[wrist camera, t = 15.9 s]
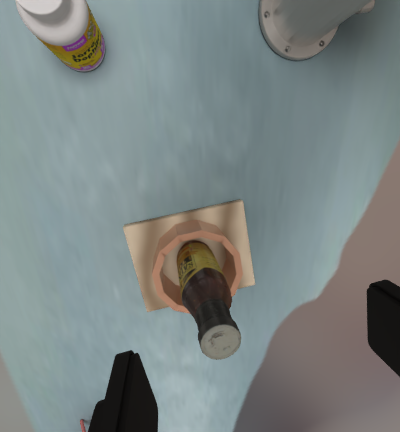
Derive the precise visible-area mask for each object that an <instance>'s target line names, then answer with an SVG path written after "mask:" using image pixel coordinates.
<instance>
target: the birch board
mask: <svg viewBox="0 0 400 432" xmlns="http://www.w3.org/2000/svg"><path fill="white" fill-rule="evenodd" d="M192 220H200V221H203V222H206V223H210V224H213V225H216V226H217V227H218V228H219V229H220V230H221V231H222V232H223V234H224V235H225V236H226V237H227V238H228V239H229V240H230V242H231V243H232V244H233V245H234V247H235V248H236V249H237V250H238V252H239V253H240V258H241V265H242V271H243V275H242V278H241V280H240V283H239V285H238V288H237V289H240V288H243V287H247V286H251V285H255V281H254V274H253V267H252V260H251V253H250V246H249V239H248V232H247V225H246V219H245V212H244V205H243V201H242V200H240V199H239V200H235V201H230V202H226V203H221V204H217V205H212V206H208V207H203V208H199V209H194V210H189V211H185V212H180V213H176V214H171V215H167V216H162V217H158V218H153V219H149V220H144V221H140V222H135V223H130V224H126V225H124V227H123V229H124V232H125V236H126V239H127V243H128V246H129V250H130V253H131V257H132V260H133V264H134V267H135V271H136V274H137V278H138V281H139V285H140V288H141V292H142V295H143V299H144V302H145V306H146V309H147V312H150V311H154V310H158V309H162V308H166V307H169V305H167V304H166V303H165V302H164V301H163V300H162V299H161V298H160V297H159V296H158V295H157V291H156V288H155V284H154V280H153V277H152V268H153V257H154V254H155V251H156V248H157V245H158V242H159V239H160V238H161V237H162V236H163V235H164V234H165V233H166V232H167V231H169V230H170V229H171V228H172V227H173V226H174V225H175V224H179V223H183V222H188V221H192ZM193 240H197V241H201V242H203V243H205V244H207V245H208V246H209V248H210V249H211V250H212V252H213V254H214V256H215V258H216V260H217V262H218V264H219V266H220V268H221V270H222V269H223V266H224V264H225V261H226V252H225V246H224V245H223V244H222V243H221V242H217V241H214V240H210V239H207V238H203V237H200V238H196V239H191V240H187V241H183V242H180V243H179V244H178V245H177V246H176V247H175V248H174V249H173V250H171V251H170V252H169V253H168V254H167V255H166V256H165V259H164V262H163V265H162V269H163V273H164V274H165V275H166V276H167V277H168V278H169V279H170V280H171V281H172V282H173V283H174V284H175V285H179V277H178V270H177V255H178V251H179V250H180V248H181V247H182V246H183V245H184V244H185V243H187V242H189V241H193ZM179 286H180V285H179Z"/></svg>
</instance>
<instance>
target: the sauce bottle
mask: <svg viewBox="0 0 400 432" xmlns="http://www.w3.org/2000/svg"><path fill="white" fill-rule="evenodd" d="M177 270H178V277H179V285H180V292H181V299H182V303H183V305H184V307H185V308H186V309H187V310H188V311H189V312H190V314H191V315H192V316H193V317H194V319H195V321H196V323H197V325H198V330H199V333H198V340H199V344H200V347H201V350H202V352H203V353H204V354H205V355H206V356H208V357H209V358H211V359H216V360H217V359H224V358H227V357H229V356H231V355H233V354H234V353H235V352H236V351H237V349H238V348H239V346H240V343H241V334H240V332H239V329H238V327H237V325H236V323H235V322H234V321H233V319H232V318H231V315H230V311H229V309H230V307H231V303H232V296H231V291H230V288H229V286H228V284H227V281H226V278H225V276H224V274H223V272H222V270H221V268H220V266H219V264H218V262H217V260H216V258H215V256H214V254H213V252H212V250H211V249H210V248H209V246H208V245H207V244H205V243H203V242H201V241H197V240H193V241H189V242H187V243H185V244H184V245H183V246H182V247H181V248H180V250H179V251H178V255H177Z"/></svg>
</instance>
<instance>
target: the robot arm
mask: <svg viewBox="0 0 400 432" xmlns="http://www.w3.org/2000/svg"><path fill="white" fill-rule="evenodd" d="M374 4H375V0H260V5H259V21H260V26H261V30H262V33H263V35H264V38H265V39H266V41H267V43H268V44H269V46H270V47H271V48H272V49H273V50H274V51H275V52H276V53H277V54H279V55H280V56H282V57H284V58H287V59H290V60H304V59H308V58H311V57H312V56H314V55H316V54H318V53H319V52H320V51H322V50H323V49H324V48H325V47H326V46H327V45H328V44H329V43H330V41H331V40H332V39H333V37H334V35H335V33H336V31H337V29H338V26H339V24H341V23H342V22H344V21H345V20H346V19H348V18H349V17H350V16H352V15H353V14H362V13H368V12H370V11H371V10H372V9H373V7H374ZM264 16H265V17H266V18H265V17H264ZM285 50H286V51H285ZM367 325H368V343H369V345H370V347H371V349H372V350H373V351H374V352H375V353H376V354H377V355H378V356H379V357H380V358H381V359H382V360H383V361H384V362H385V363H386V364H387V365H388V366H389V367H390V368H391V369H392V370H393V371H394V372H396V374H398V376H400V287H399V286H397V285H395V284H394V283H392V282H390V281H388V280H382V281H378V282H375V283H371V284H370V286H369V288H368V289H367ZM88 432H158V407H157V403H156V400H155V397H154V394H153V392H152V389H151V386H150V384H149V381H148V378H147V375H146V373H145V370H144V367H143V364H142V362H141V359H140V356H139V354H138V353H135V354H134V353H133V351H132V350H130V351H127V352H123V353H120V354H117V355H116V356H115V359H114V363H113V367H112V371H111V375H110V380H109V384H108V388H107V392H106V396H105V399H104V400H101V401H99V402H98V403H97V404H96V406H95V409H94V412H93V416H92V419H91V423H90V427H89V430H88Z"/></svg>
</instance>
